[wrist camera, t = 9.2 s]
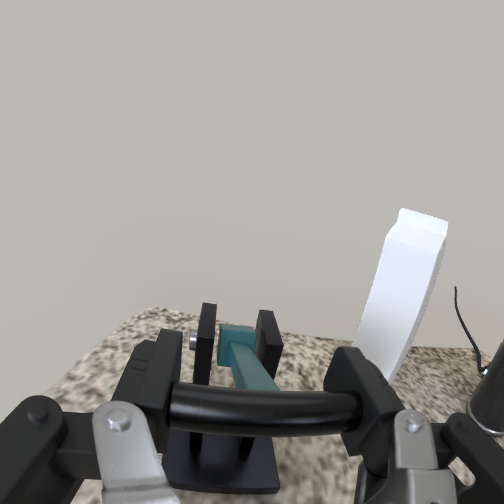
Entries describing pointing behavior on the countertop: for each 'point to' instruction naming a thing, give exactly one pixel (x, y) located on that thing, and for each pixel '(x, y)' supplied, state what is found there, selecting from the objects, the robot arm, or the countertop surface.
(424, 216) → the milk
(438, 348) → the countertop surface
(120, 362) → the countertop surface
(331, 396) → the lever
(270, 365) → the bracket
